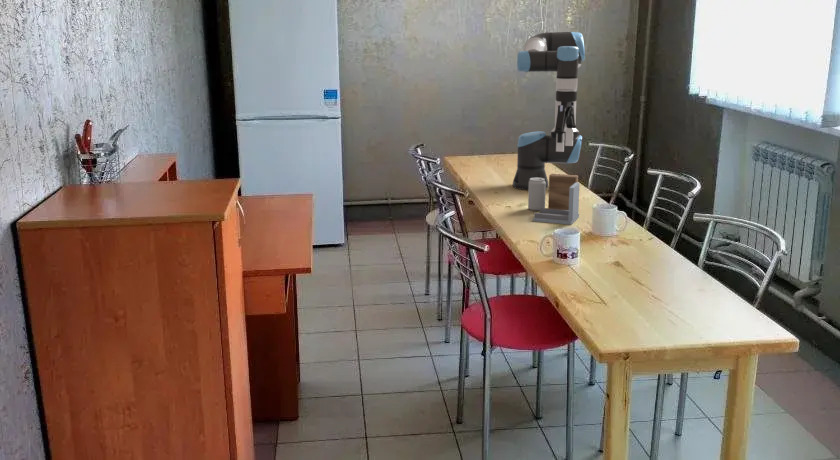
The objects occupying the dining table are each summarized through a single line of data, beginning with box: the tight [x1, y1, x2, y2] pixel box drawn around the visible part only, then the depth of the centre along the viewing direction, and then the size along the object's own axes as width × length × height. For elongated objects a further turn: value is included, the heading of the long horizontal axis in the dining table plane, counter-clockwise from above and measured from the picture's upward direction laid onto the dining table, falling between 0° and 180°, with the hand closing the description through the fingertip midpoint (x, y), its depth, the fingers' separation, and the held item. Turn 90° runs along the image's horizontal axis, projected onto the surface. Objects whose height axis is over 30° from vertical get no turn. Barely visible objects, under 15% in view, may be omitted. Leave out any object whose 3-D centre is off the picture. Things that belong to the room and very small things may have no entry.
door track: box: [532, 182, 581, 225], centre depth 285 cm, size 12×14×13 cm
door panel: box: [547, 173, 579, 210], centre depth 295 cm, size 4×10×14 cm, turn 66°
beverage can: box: [527, 178, 547, 212], centre depth 299 cm, size 6×6×12 cm
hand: (564, 148), depth 290 cm, fingers open, 13 cm apart
